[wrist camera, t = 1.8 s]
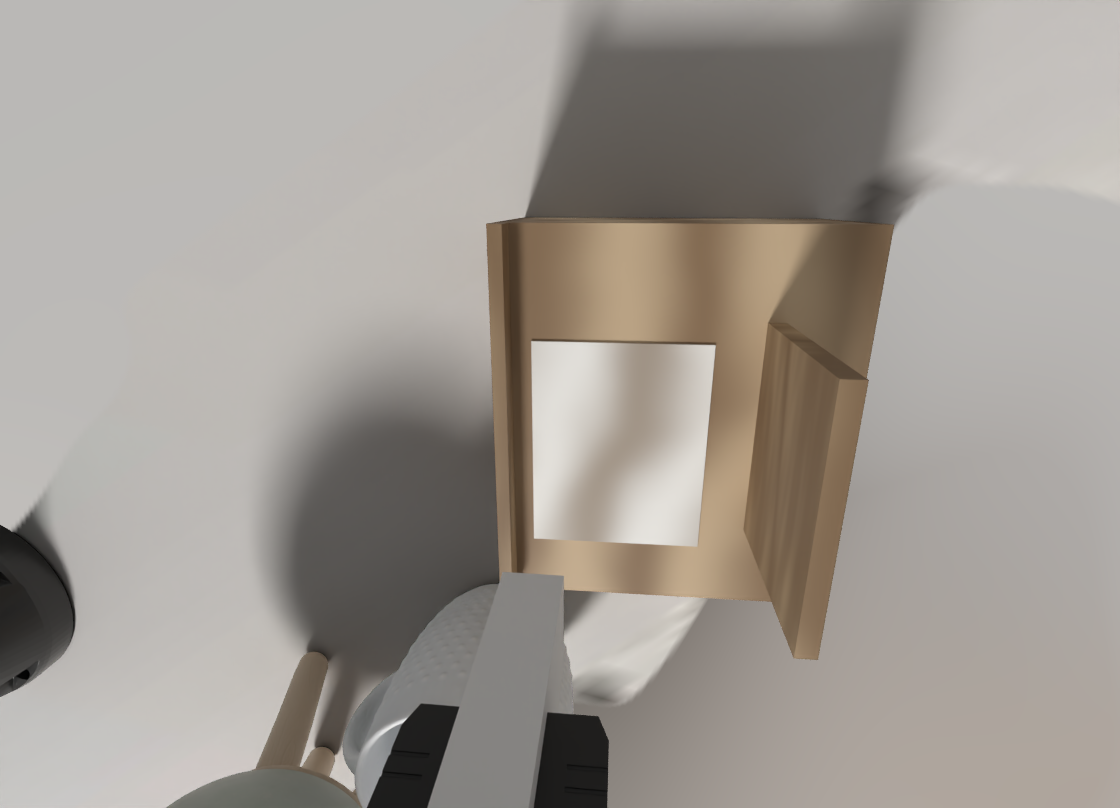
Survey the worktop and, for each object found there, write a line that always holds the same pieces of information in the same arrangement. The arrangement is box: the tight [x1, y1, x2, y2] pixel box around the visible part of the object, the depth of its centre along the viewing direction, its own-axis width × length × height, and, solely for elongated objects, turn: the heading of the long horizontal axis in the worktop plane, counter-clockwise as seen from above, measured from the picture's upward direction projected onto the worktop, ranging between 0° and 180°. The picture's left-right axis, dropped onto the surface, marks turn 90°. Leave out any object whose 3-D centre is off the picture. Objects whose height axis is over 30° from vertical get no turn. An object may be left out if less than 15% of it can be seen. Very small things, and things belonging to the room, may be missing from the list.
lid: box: [486, 222, 894, 660], centre depth 23 cm, size 16×18×9 cm
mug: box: [343, 584, 573, 808], centre depth 36 cm, size 15×11×13 cm
